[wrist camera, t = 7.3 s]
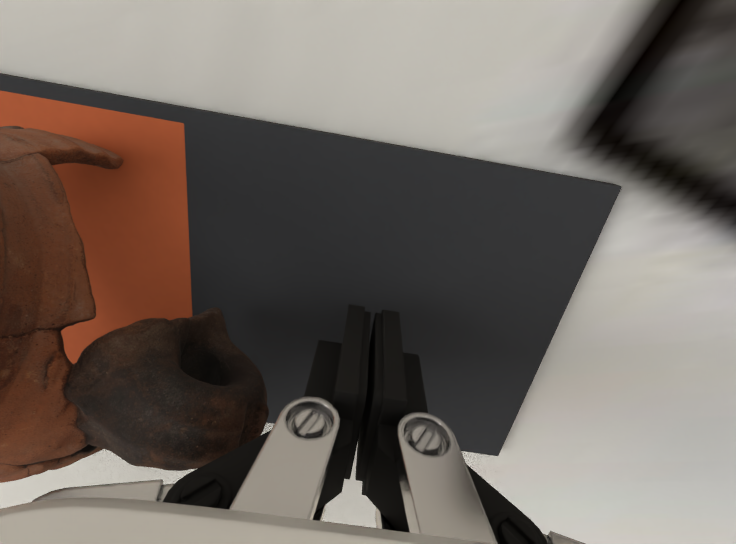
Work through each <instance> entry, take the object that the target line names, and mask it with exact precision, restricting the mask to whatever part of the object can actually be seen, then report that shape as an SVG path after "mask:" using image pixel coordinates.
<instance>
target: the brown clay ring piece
mask: <svg viewBox="0 0 736 544" xmlns="http://www.w3.org/2000/svg"><path fill="white" fill-rule="evenodd" d="M65 163H78V164H87V165H93V166H98V167H101V168H105V169H118V168H119V167H120V166H121V165H122V163H123V158H122V157H120V156H119V155H117V154H116V153H114V152H112V151H110V150H107V149H105V148H102V147H99V146H96V145H94V144H90V143H87V142H85V141H83V140H80V139H77V138H73V137H70V136H65V135H60V134H55V133H51V132H48V131H45V130H39V129H34V128H26V129H24V128H23V127H20V126H3V127H0V483H1V482H8V481H14V480H19V479H22V478H26V477H29V476H32V475H35V474H40V473H43V472H45V471H47V470H55V469H59V468H62V467H65V466H68V465H70V464H72V463H74V462H76V461H78V460H80V459H82V458H85V457H87V456H90V455H92V454H94V453H96V452H98V451H100V450H102V449H107V450H109V451H112V452H113V453H114V454H116V455H118V456H119V457H121V458H122V459H123V460H125V461H126V462H128V463H129V464H131V465H135V466H144V467H153V468H160V469H164V470H176V471H182V470H188V469H197V468H200V467H202V466H204V465H206V464H208V463H210V462H212V461H213V460H215V459H217V458H219V457H221V456H223V455H225V454H227V453H229V452H231V451H232V450H234V449H236V448H238V447H240V446H242V445H244V444H246V443H248V442H249V441H251V440H253V439H255V438H257V437H259V436H260V435H261V433H262V432H263V429H264V426H265V424H266V421H267V418H268V416H269V409H268V406H267V391H266V387H265V384H264V380H263V377H262V375H261V373H260V371H259V370H258V368H257V367H256V365H255V364H254V363H253V362H252V361H251V359H249V357H248V356H247V355H246V354H244V353H243V352H242V351H241V350H240V349H239V348H238V347H236V346H235V345H234V344H233V343H232V342H231V340H230V338H229V336H228V332H227V329H226V323H225V319H224V317H223V314H222V311H221V309H219V308H217V307H214V308H210V309H207V310H206V311H204V312H202V313H201V314H199V315H196V316H193V317H189V318H176V319H172V320H168V319H166V318H148V319H143V320H139V321H136V322H134V323H132V324H130V325H128V326H125V327H121V328H118V329H115V330H113V331H110V332H108V333H107V334H105V335H103V336H101V337H99V338H97V339H96V340H94V341H93V342H92V343H91V344H90V345H88V346H87V347H86V348H85V349H84V350H83V351H82V352H81V354H80V357H79V358H78V360H77V362H76V363H74V364H73V363H72V362H71V361H70V360H69V359H68V357H67V355H66V353H65V350H64V342H63V337H62V334H61V331H62V330H63V329H64V328H66V327H68V326H73V325H75V324H77V323H80V322H86V321H89V320H92V319H94V318H95V317H96V304H95V299H94V297H93V294H92V288H91V284H90V279H89V275H88V271H87V268H86V257H85V251H84V244H83V241H82V239H81V237H80V235H79V233H78V231H77V229H76V227H75V224H74V222H73V219H72V215H71V212H70V204H69V202H68V199H67V195H66V191H65V189H64V187H63V184H62V181H61V180H60V178H59V176H58V174H57V173H56V171H55V169H54V168H53V165H58V164H65Z"/></svg>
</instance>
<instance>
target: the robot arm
mask: <svg viewBox="0 0 736 544" xmlns="http://www.w3.org/2000/svg"><path fill="white" fill-rule="evenodd" d="M370 318H371V312H368V311H365V307H364V306H357V305H351V304H349V306H348V312H347V319H346V325H345V331H344V337H343V343H337V342H331V341H324V340H319V341H318V344H317V348H316V352H315V356H314V360H313V363H312V367H311V371H310V375H309V378H308V382H307V386H306V390H305V394H304V397H301V398H298V399H295V400H293V401H291V402H290V403H288V404H287V405H286V406H285V407H284V409H283V410H282V411H281V413H280V415H279V417H278V419H277V421H276V422H275V424H274V426H273V428H272V430H270V431H268V432H267V433H265V434H263V435H261V436H259V437H257V438H255V439H253V440H251V441H249V442H248V443H246V444H244V445H242V446H240V447H238V448H236V449H234V450H232V451H231V452H229V453H227V454H225V455H223V456H221V457H219V458H217V459H215V460H213V461H212V462H210V463H208V464H206V465H204V466H202V467H200V468H198V469H196V470H195V471H193V472H191V473H189V474H187V475H186V476H184V477H183V478H181V479H180V480H178V481H177V482H176V483H175V484H166V485H163V480H152V481H140V482H128V483H117V484H105V485H93V486H82V487H70V488H63V489H59V490H54V491H51V492H49V493H47V494H44V495H42V496H40V497H38V498H36V499H35V500H33V501H32V502H30V503H26V504H21V505H16V506H12V507H7V508H3V509H0V544H585V543H582V542H579V541H577V540H574V539H571V538H568V537H566V536H563V535H560V534H557V533H555V532H552V531H550V532H549V534H548V535H545V534H542V532H541V531H540V529H539V528H538V527H537V526H536V525H535V524H534V523H533V522H532V521H531V520H530V519H529V518H528V517H527V516H526V515H524V514H523V513H522V512H521V511H520V510H519V509H517V508H516V507H515V506H514V505H513V504H512V503H511V502H509V501H508V500H507V499H506V498H505V497H504V496H502V495H501V494H500V493H499V492H498V491H497V490H495V489H494V488H493V487H492V486H491V485H490V484H489V483H487V482H486V481H485V480H484V479H483V478H482V477H480V476H479V475H478V474H477V473H476V472H475V471H473V470H472V469H471V468H470V467H469V466H468V465H467V464H466V463H465V460H464V458H463V455H462V453H461V450H460V448H459V445H458V443H457V440H456V438H455V435H454V433H453V432H452V430H451V428H450V427H449V426H448V425H447V424H446V423H445V422H444V421H442V420H441V419H439V418H438V417H436V416H434V415H431V414H429V413H428V409H427V402H426V396H425V390H424V383H423V377H422V371H421V364H420V358H419V355H418V354H411V353H404V352H403V347H402V336H401V325H400V315H399V312H396V311H390V310H382V313H375V317H374V322H373V327H372V333H371V338H370ZM369 340H370V343H369ZM357 442H358V448H357V463H356V480H359V481H363V483H362V495H366V496H367V497H368V498H369V499H370V500H371V502H372V503H373V504H374V505H375V506H376V515H375V519H376V527H377V528H370V527H363V526H355V525H347V524H339V523H332V522H324V521H322V519H323V516H324V512H325V506H326V504H327V503H328V502H329V501H331V500H332V499H333V498H335V497H336V496H337V495H338V494H340V493H341V492H342V487H343V482H344V479H350V476H351V471H352V466H353V461H354V456H355V451H356V446H357Z"/></svg>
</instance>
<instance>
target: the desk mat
mask: <svg viewBox="0 0 736 544" xmlns="http://www.w3.org/2000/svg"><path fill="white" fill-rule="evenodd" d="M3 126H20V127H23V128H24V129H26V128H34V129H39V130H45V131H48V132H51V133H55V134H60V135H65V136H70V137H73V138H77V139H80V140H83V141H85V142H87V143H90V144H94V145H96V146H99V147H102V148H105V149H107V150H110V151H112V152H114V153H116V154H117V155H119V156H120V157H122V158H123V163H122V165H121V166H120V167H119V168H118V169H105V168H101V167H98V166H93V165H87V164H78V163H65V164H58V165H53V168H54V169H55V171H56V173H57V174H58V176H59V178H60V180H61V181H62V184H63V187H64V189H65V191H66V195H67V199H68V202H69V204H70V212H71V215H72V219H73V222H74V224H75V227H76V229H77V231H78V233H79V235H80V237H81V239H82V241H83V244H84V251H85V257H86V268H87V271H88V275H89V279H90V284H91V288H92V294H93V297H94V299H95V304H96V317H95V318H94V319H92V320H89V321H86V322H80V323H77V324H75V325H73V326H68V327H66V328H64V329H63V330H62V331H61V334H62V337H63V342H64V350H65V353H66V355H67V357H68V359H69V360H70V361H71V362H72V363H73V364H74V363H76V362H77V360H78V358H79V357H80V354H81V352H82V351H83V350H84V349H85V348H86V347H87V346H88V345H90V344H91V343H92V342H93V341H94V340H96V339H97V338H99V337H101V336H103V335H105V334H107V333H108V332H110V331H113V330H115V329H118V328H121V327H125V326H128V325H130V324H132V323H134V322H136V321H139V320H143V319H148V318H166V319H168V320H172V319H176V318H189V317H193V316H196V315H199V314H201V313H202V312H204V311H206V310H207V309H210V308H214V307H217V308H219V309H221V311H222V314H223V317H224V319H225V323H226V329H227V332H228V336H229V338H230V340H231V342H232V343H233V344H234V345H235V346H236V347H238V348H239V349H240V350H241V351H242V352H243V353H244V354H246V355H247V356H248V357H249V359H251V361H252V362H253V363H254V364H255V365H256V367H257V368H258V370H259V371H260V373H261V375H262V377H263V380H264V384H265V387H266V391H267V406H268V409H269V416H268V418H267V421H266V422H267V423H274V424H275V422H276V421H277V419H278V417H279V415H280V413H281V411H282V410H283V409H284V407H285V406H286V405H287V404H288V403H290V402H291V401H293V400H295V399H298V398H301V397H304V394H305V390H306V386H307V382H308V378H309V375H310V371H311V367H312V363H313V360H314V356H315V352H316V348H317V344H318V341H319V340H324V341H331V342H337V343H343V337H344V331H345V325H346V319H347V312H348V306H349V304H351V305H357V306H364V307H365V311H368V312H371V318H370V338H371V333H372V327H373V322H374V317H375V313H382V310H390V311H396V312H399V315H400V325H401V336H402V347H403V352H404V353H411V354H418V355H419V358H420V364H421V371H422V377H423V383H424V390H425V396H426V402H427V409H428V413H429V414H431V415H434V416H436V417H438V418H439V419H441V420H442V421H444V422H445V423H446V424H447V425H448V426H449V427H450V428H451V430H452V432H453V433H454V435H455V438H456V440H457V443H458V445H459V448H460V450H461V451H466V452H473V453H480V454H487V455H494V456H498V455H499V453H500V450H501V448H502V446H503V444H504V442H505V440H506V437H507V435H508V433H509V431H510V429H511V427H512V424H513V422H514V420H515V418H516V416H517V414H518V411H519V409H520V407H521V405H522V403H523V400H524V398H525V396H526V394H527V392H528V390H529V387H530V385H531V383H532V381H533V379H534V377H535V374H536V372H537V370H538V368H539V366H540V363H541V361H542V359H543V357H544V355H545V353H546V350H547V348H548V346H549V344H550V342H551V340H552V337H553V335H554V333H555V331H556V329H557V327H558V324H559V322H560V320H561V318H562V316H563V313H564V311H565V309H566V307H567V305H568V303H569V300H570V298H571V296H572V294H573V292H574V290H575V287H576V285H577V283H578V281H579V279H580V277H581V274H582V272H583V270H584V268H585V266H586V263H587V261H588V259H589V257H590V255H591V253H592V250H593V248H594V246H595V244H596V242H597V240H598V237H599V235H600V233H601V231H602V229H603V227H604V224H605V222H606V220H607V218H608V216H609V213H610V211H611V209H612V207H613V205H614V203H615V200H616V198H617V196H618V194H619V192H620V190H621V186H619V185H616V184H611V183H606V182H600V181H595V180H589V179H583V178H578V177H572V176H567V175H561V174H556V173H550V172H545V171H539V170H534V169H528V168H522V167H517V166H511V165H506V164H500V163H495V162H489V161H484V160H478V159H472V158H467V157H461V156H456V155H450V154H445V153H439V152H434V151H428V150H423V149H417V148H411V147H406V146H400V145H395V144H389V143H384V142H378V141H373V140H367V139H361V138H356V137H350V136H345V135H339V134H334V133H328V132H323V131H317V130H312V129H306V128H300V127H295V126H289V125H284V124H278V123H273V122H267V121H262V120H256V119H250V118H245V117H239V116H234V115H228V114H223V113H217V112H212V111H206V110H201V109H195V108H189V107H184V106H178V105H173V104H167V103H162V102H156V101H151V100H145V99H139V98H134V97H128V96H123V95H117V94H112V93H106V92H101V91H95V90H89V89H84V88H78V87H73V86H67V85H62V84H56V83H51V82H45V81H40V80H34V79H28V78H23V77H17V76H12V75H6V74H1V73H0V127H3ZM369 343H370V340H369Z"/></svg>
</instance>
